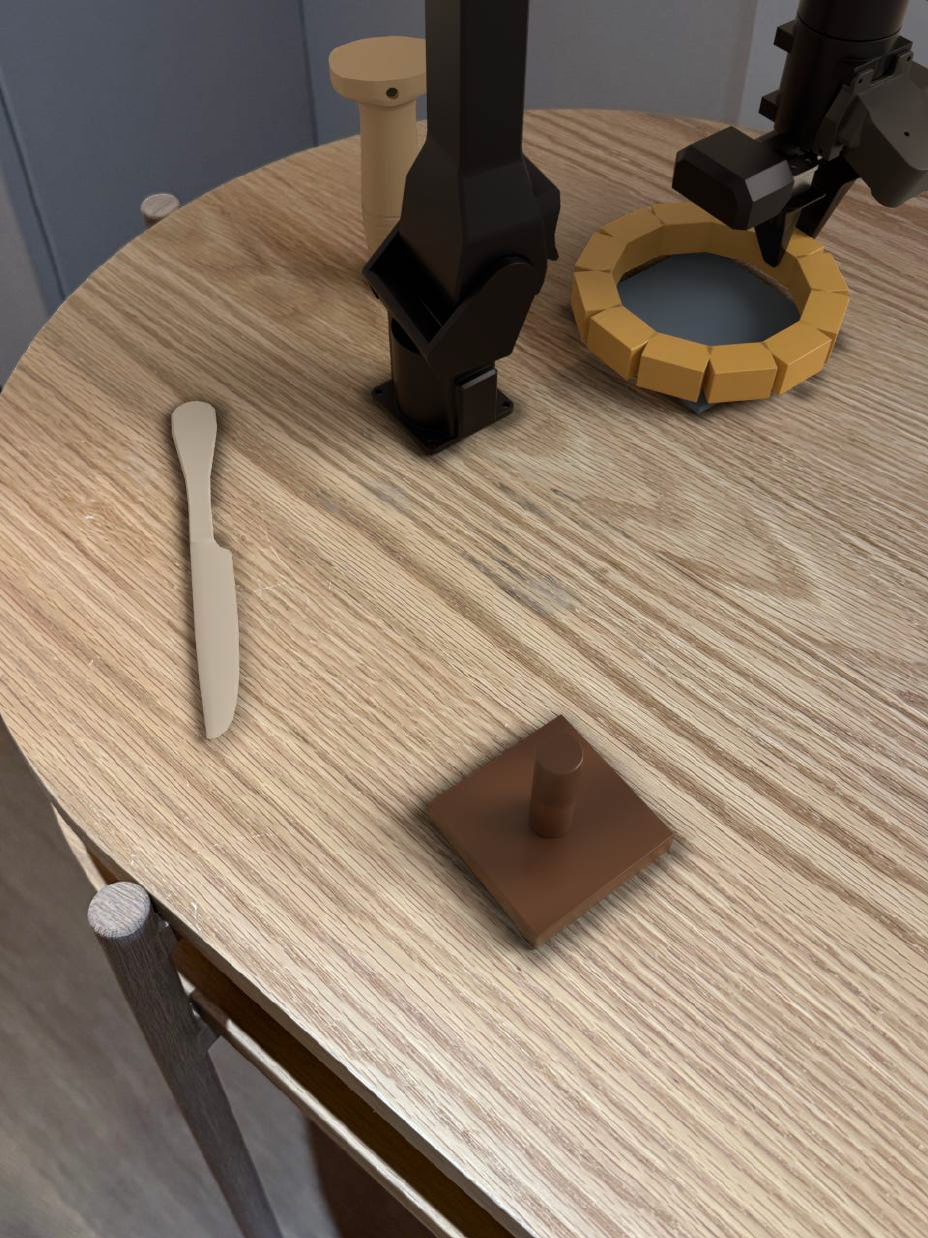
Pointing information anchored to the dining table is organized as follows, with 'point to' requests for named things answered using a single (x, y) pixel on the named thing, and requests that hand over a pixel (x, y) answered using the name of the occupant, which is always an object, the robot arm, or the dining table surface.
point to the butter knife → (208, 570)
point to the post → (549, 829)
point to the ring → (690, 363)
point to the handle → (382, 120)
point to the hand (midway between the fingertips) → (784, 256)
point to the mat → (706, 303)
